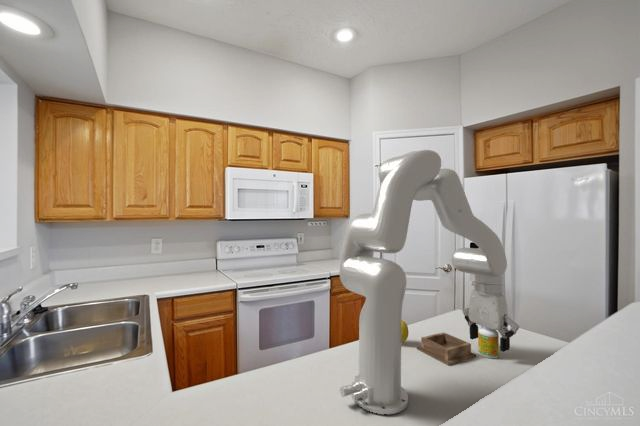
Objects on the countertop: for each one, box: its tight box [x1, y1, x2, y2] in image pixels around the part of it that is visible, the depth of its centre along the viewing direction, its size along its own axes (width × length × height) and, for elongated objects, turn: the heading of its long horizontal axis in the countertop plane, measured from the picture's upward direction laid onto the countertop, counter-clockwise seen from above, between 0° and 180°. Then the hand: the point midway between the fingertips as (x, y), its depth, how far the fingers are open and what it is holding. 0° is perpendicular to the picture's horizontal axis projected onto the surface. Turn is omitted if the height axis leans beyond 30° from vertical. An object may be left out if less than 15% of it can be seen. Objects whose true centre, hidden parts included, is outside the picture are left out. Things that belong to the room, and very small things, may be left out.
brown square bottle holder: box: [416, 331, 477, 367], centre depth 91 cm, size 12×12×4 cm
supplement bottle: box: [477, 325, 500, 359], centre depth 90 cm, size 5×5×10 cm
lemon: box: [401, 319, 409, 344], centre depth 97 cm, size 6×6×8 cm
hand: (488, 344), depth 90 cm, fingers open, 9 cm apart
